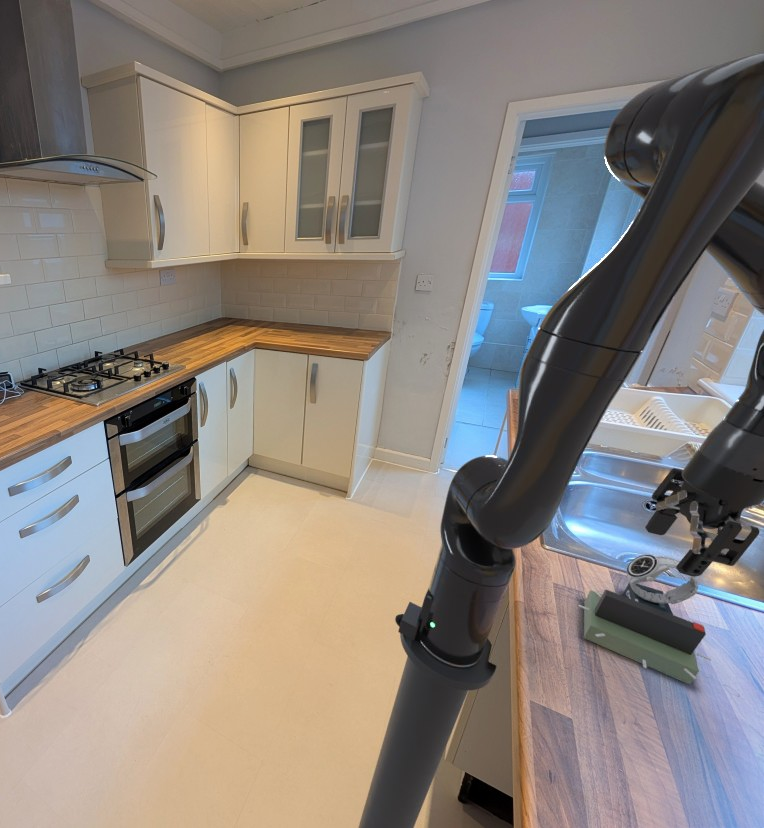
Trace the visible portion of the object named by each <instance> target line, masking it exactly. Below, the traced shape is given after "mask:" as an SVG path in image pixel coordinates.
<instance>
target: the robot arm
mask: <svg viewBox="0 0 764 828" xmlns="http://www.w3.org/2000/svg"><path fill="white" fill-rule="evenodd" d="M603 150H604V152H603V153H604V154H603V155H604V159H605V164H606V166H607V168H608V170H609V172H610V173H611V174H612V175H613V177H615V179H617V180H618V181H619V183H621V184H622V185H624V186H625V187H626V188H627V189H629V190H630V191H632V192H633V193H634V194H636V195H637V196H639V197H640V198H641V199H643V202H642V204H641V206H640V207H639V209H638V211H637V213H636V215H635V217H634V218H633V220H632V222H631V223H630V225H629V227H628V228H627V229H626V231H625V232H624V234H623V235H622V236H621V238H620V239H619V241H617V243H616V244H615V245H614V246H613V247H612V249H611V250H610V251H609V252H608V253H607V254H605V256H604V257H603V258H601V260H600V261H599V262H598V263H596V264H595V265H594V266H593V267H592V268H591V269H589V270H588V271H587V272H586V273H585V274H584V275H583V276H581V278H579V279H578V280H577V281H576V282H575V283H574V284H573V285H572V286H571V287H570V288H569V289H568V290H566V292H564V294H562V295H561V296H560V297H559V299H558V300H557V301H556V302H555V303H554V304H553V305H552V306H551V308H550V309H549V310H548V312H546V315H545V316H544V317H543V320H542V321H541V323H540V325H539V327H538V330H537V332H536V333H535V336H534V338H533V340H532V342H531V343H530V346H529V348H528V350H527V352H526V355H525V357H524V359H523V362H522V365H521V369H520V373H519V380H518V389H517V390H518V391H517V424H516V425H517V427H516V434H515V440H514V443H513V447H512V449H511V451H510V454H509V457H508V459H506V458H504V457H501V456H497V455H481V456H477V457H475V458H472V459H470V460H468V461H467V462H465V463H463V464H462V465H461V466H460V468H459V469H458V470H457V471H456V472H455V474H454V475H453V477H452V479H451V481H450V483H449V487H448V489H447V493H446V498H445V503H444V507H443V511H442V516H441V519H440V520H441V521H440V528H439V532H440V540H441V543H440V547H439V551H438V554H437V557H436V558H437V559H436V562H435V565H434V569H433V572H432V576H431V579H430V582H429V586H428V588H427V591H426V593H425V595H424V598H423V601H422V605H421V606H420V605H417V604H416V603H413V602H411V601H409V602H408V605H407V606H406V609H405V611H404V613H401V614H397V615H396V616H395V619H394V621H395V623H396V625H397V626H398V633H399V634H400V633H401V634H403V635H405V636H407V637H408V638H410V639H412V640H416V641H418V642H419V643H420V644H421V646H422V647H423V648H424V650H425V651H426V652H427V653H428V654H429V655H431V656H432V657H433V658H434V659H436V660H437V661H439V662H441V663H443V664H445V665H447V666H450V667H453V668H459V669H467V668H471V667H473V666H475V665H476V664H477V663H478V662H479V660H480V658H481V655H482V652H483V648H484V646H485V643H486V641H487V638H488V639H489V635H490V633H491V631H492V628H493V625H494V623H495V621H496V618H497V615H498V612H499V610H500V608H501V606H502V603H503V600H504V597H505V595H506V593H507V589H508V587H509V585H510V583H511V580H512V578H513V575H514V572H515V569H516V564H517V559H516V554H515V552H514V551H515V549H519V548H522V547H525V546H527V545H530V544H531V543H533V542H534V541H535V540H537V539H538V538H539V537H541V536H542V535H543V534H544V532H546V530H547V529H548V528H549V527H550V525H551V523H552V522H553V520H554V518H555V516H556V514H557V512H558V510H559V508H560V506H561V503H562V500H563V498H564V496H565V494H566V491H567V489H568V486H569V484H570V483H571V480H572V477H573V475H574V472H575V471H576V468H577V466H578V464H579V462H580V460H581V458H582V456H583V454H584V452H585V451H586V449H587V447H588V445H589V443H590V441H591V439H592V438H593V436H594V434H595V432H596V430H597V429H598V427H599V425H600V423H601V421H602V419H603V418H604V416H605V414H606V412H607V411H608V409H609V407H610V405H611V403H612V402H613V401H614V399H615V398H616V396H617V394H619V392H620V389H622V387H623V386H624V384H625V382H626V381H627V379H628V377H629V376H630V374H631V372H632V370H633V369H634V367H635V366H636V364H637V363H638V361H639V359H640V357H641V355H642V354H643V351H645V349H646V347H647V345H648V344H649V341H650V340H651V338H652V336H653V334H654V332H655V331H656V329H657V327H658V325H659V323H660V322H661V320H662V318H663V317H664V315H665V313H666V312H667V310H668V309H669V307H670V305H671V304H672V302H673V301H674V299H675V297H676V295H678V293H679V291H680V290H681V288H682V287H683V285H684V283H685V281H686V280H687V279H688V277H689V275H690V274H691V272H692V271H693V269H694V267H695V266H696V264H697V263H698V261H699V260H700V258H701V257H702V255H703V253H705V252H707V254H709V255H710V256H711V258H712V259H713V260H714V261H715V262H716V263H717V264H718V265H719V266H720V267H721V268H722V269H723V271H725V272H726V274H727V275H728V277H729V278H730V279H731V280H732V282H733V283H734V284H735V286H736V287H737V288H738V289H739V291H740V292H741V293H742V295H743V296H744V297H745V298H746V300H747V301H748V302H749V303H750V304H751V306H752V307H753V308H754V309H755V310H756V311H757V312H759V313H760V314H761V315H763V316H764V185H763V184H760V183H759V182H757V180H758V179H759V177H760V176H761V175H762V173H763V172H764V51H760V52H756V53H752V54H748V55H743V56H739V57H736V58H732V59H729V60H726V61H723V62H720V63H717V64H713V65H710V66H706V67H703V68H699V69H697V70H693V71H691V72H687V73H683V74H680V75H677V76H674V77H671V78H669V79H665V80H664V81H660V82H658V83H657V84H654V85H652V86H650V87H648V88H646V89H644V90H642V91H641V92H639V93H637V94H636V95H635V96H634V97H633V98H631V99H630V100H629V101H628V102H627V103H626V104H625V105H623V106H622V108H621V109H620V111H619V112H618V113H617V114H616V116H615V117H614V119H613V120H612V121H611V124H610V126H609V129H608V131H607V133H606V136H605V141H604V149H603ZM668 491H671V493H670V494H666V493H667V492H668ZM651 499H652V500H653V501H656V503H655V512H654V513H653V515H651V516H650V519H649V520H648V522H647V524H646V525H645V526H644V528H645V530H646V531H647V532H648V533H649V534H654V535H657V536H664V535H666V534H667V532H668V531H669V530H670V528H671V527H672V526H673V525H674V523H675V522H676V520H677V519H678V516H680V515H682V516H684V517H685V518H686V520H687V522H689V524H690V525H689V534H690V535H691V536H692V537H693V538H692V539H693V541H692V549H689V550H687V552H686V553H685V554H684V556H683V557H682V558H681V560H679V561H680V562H679V563H678V565H677V566H676V569H675V570H677V571H678V573H679V574H681V575H686V576H689V577H690V576H693V577H695V578H696V577H700V576H702V575H703V574H704V572H705V571H706V570H707V569H708V568H709V567H710V566H711V565H712V563H713V562H715V563H718V564H722V565H726V566H729V567H734V566H735V565H736V564H737V562H738V561H739V560H740V559H741V557H742V556H743V555H744V553H745V552H747V550H748V548H749V547H750V546H751V545H752V544H753V543H754V541H755V540H756V538H758V536H759V535H760V529H759V527H757V526H753V525H749V524H746V523H745V522H744V521H743V520H741V518H742V517H741V516H742V513H743V511H744V510H745V509H746V508H749V507H754V506H755V507H756V506H759V505H761V504H762V503H763V502H764V329H763V330H762V332H761V334H760V336H759V338H758V341H757V343H756V347H755V350H754V355H753V357H752V361H751V365H750V369H749V372H748V375H747V381H746V384H745V388H744V390H743V391H742V393H741V394H740V396H739V397H738V398H737V399H736V400H735V402H734V403H733V405H732V406H731V408H730V409H729V410H728V412H727V413H726V414H725V416H724V417H723V418H722V420H721V421H720V422H719V423H717V425H716V426H714V428H713V429H712V430H711V431H710V432H709V433H708V435H707V436H706V438H705V439H704V440H703V442H702V443H701V445H700V446H699V447H698V449H697V450H696V452H695V453H694V454H693V456H692V457H691V459H690V460H689V461H688V463H687V464H686V466H685V467H684V468H683V469H681V468H675V467H673V468H671V470H670V471H669V472H668V473H667V475H666V476H665V477H664V478H663V479H662V481H661V482H660V484H659V485H658V486H657V487H656V489H655V490H654V492H653V493H652V495H651ZM706 530H717V531H716V533H713V532H709V531H706ZM706 540H710V541H711V543H710V544H709V545H708V547H707V546H706ZM724 550H728V551H726V553H725V551H724Z"/></svg>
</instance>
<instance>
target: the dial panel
mask: <svg viewBox="0 0 764 828" xmlns="http://www.w3.org/2000/svg"><path fill="white" fill-rule="evenodd" d="M602 594H603V593H600V592H598V591H594V590H592V589H590V591H589V592H588V594H587V596H586V598H585V599H584V603H583V604H584V605H582V604H578V605H577V606H578V607H579V608H581V609H583V639H585V640H586V641H589V642H591V643H594V644H596V645H599V646H601V647H603V648H605V649H607V650H610V651H611V652H614V653H616V654H618V655H621V656H623V657H625V658H627V659H630V660H632V661H634V662H637V663H639V664H641V665H642V667H643V668H644V669H647V668H650V669H653V670H655V671H658V672H660V673H662V674H664V675H667V676H669V677H671V678H673V679H675V680H678V681H680V682H683V683H685V684H687V685H691V683H692V682H693V681H694V680H697V679H698V678H697V675H698V673H699V672H700V669H699V665H698V661H697V657H696V656H698V657H701V658H703V659H706V660H707V661H710V662H711V661H712V658H711V657H710V656H706V655H704V654H702V653H700V652H697V653H695V651H694V652H693V653H692V654H691V655H690V654H688V653H685V652H683V651H680V650H678V649H675V648H673V647H671V646H668V645H666V644H663V643H661V642H659V641H656V640H654V639H651V638H649V637H646V636H644V635H642V634H639V633H637V632H634V631H632V630H629V629H627V628H625V627H622V626H620V625H617V624H615V623H612V622H610V621H608V620H605V619H603V618H600V617H598V616H595V608H596V606H597V604H598V602H599V600H600V598H601V596H602ZM635 601H638V599H635Z"/></svg>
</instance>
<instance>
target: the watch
mask: <svg viewBox="0 0 764 828" xmlns="http://www.w3.org/2000/svg"><path fill="white" fill-rule="evenodd" d="M680 561H681V560H678V559H675V558H672V557H668V556H663V555H654V554H642V555H639V556H636V557H635V558H633V559H632V560H631V561H629V563H628V564H627V566H626V577H627V580H628V584H627V585H626V587H625V589H624V591H623V593H622V596H624V597H627V598H630V599H632V600H635V599H638V602H640V603H643V604H645V605H648V606H651V607H653V608H656V609H659V610H661V611H664V612H666V613H669V614H672V615H674V613H673V610H672V608H671V607H670V605H676V604H679V603H682V602H684V601H687V600H689V599H691V598H692V597H694V596H695V595H696V594H697V591H698V589H699V581H698V579H697V578H696V577H693V576H689V577H690V580H687V582H684V583H682V584H681V585H679V586H677V587H675V588H673V589H669V590H667V591H665V593H664V591H662V590H659V589H657V588H653V587H649V586H646V585H643V584H640V583H648V582H650V583H653V582H654V581H655V580H656V579H658V578H659V577H660V576H662V574H663V573H665V572H668V571H670V570H671V569H675V570H677V569H676V566H677V565H678V563H679V562H680Z"/></svg>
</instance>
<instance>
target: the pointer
mask: <svg viewBox="0 0 764 828" xmlns="http://www.w3.org/2000/svg"><path fill="white" fill-rule="evenodd" d="M601 594H602V596H601V598H600V600H599V602H598V604H597V606H596V608H595V616H598V617H600V618H603V619H605V620H608V621H610V622H612V623H615V624H617V625H620V626H622V627H625V628H627V629H629V630H632V631H634V632H637V633H639V634H642V635H644V636H646V637H649V638H651V639H654V640H656V641H659V642H661V643H663V644H666V645H668V646H671V647H673V648H675V649H678V650H680V651H683V652H685V653H688V654H690V655H691V654H692V653H693V652H694V653H695V650H697V647H698V646H699V645H700V643H701V642H702V640H703V639H704V638H705V637H706V634H707V632H706V630H705V629H706V628H705V627H704V625H703V624H700V623H698V622H695V621H690V620H688V619H684V618H682V617H679V616H677V615H674V614H673V615H672V614H669V613H666V612H664V611H661V610H659V609H656V608H653V607H651V606H648V605H645V604H643V603H640V602H638V601H635V600H632V599H630V598H627V597H624V596H623V594H619V593H616V592H614V591H612V590H609V589H604V591H603V593H601Z"/></svg>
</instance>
